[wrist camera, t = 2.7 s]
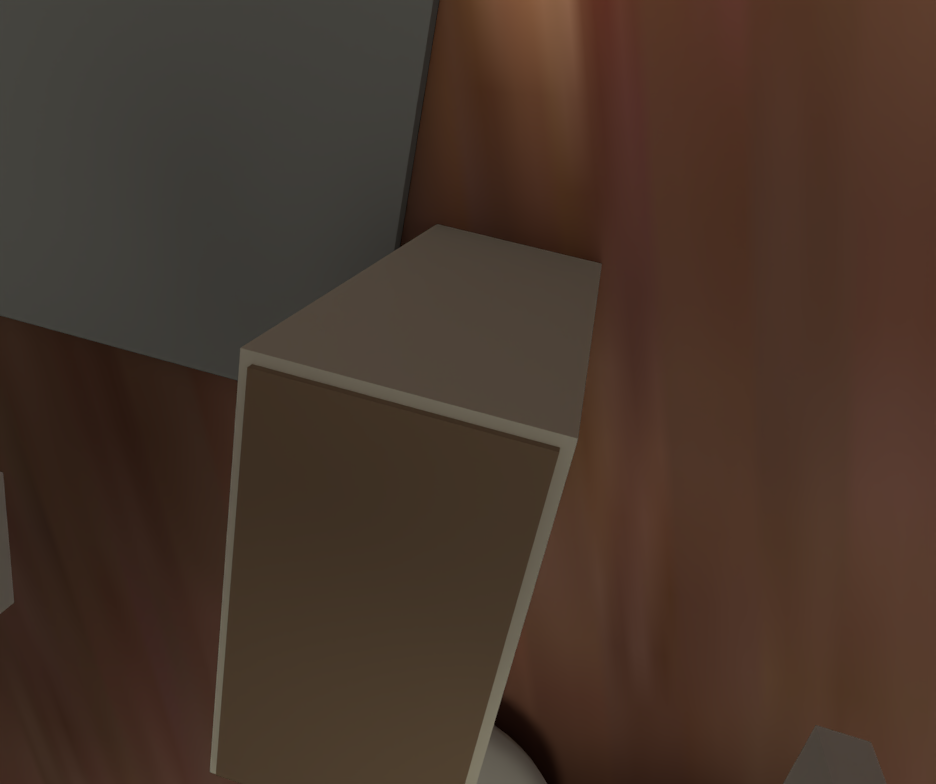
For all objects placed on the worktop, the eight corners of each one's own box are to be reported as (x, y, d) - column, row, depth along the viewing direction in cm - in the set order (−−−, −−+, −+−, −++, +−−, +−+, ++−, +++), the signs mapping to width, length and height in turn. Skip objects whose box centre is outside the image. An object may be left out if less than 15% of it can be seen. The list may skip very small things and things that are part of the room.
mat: (-169, 260, 26) (-187, 264, 26) (-264, -300, 20) (-289, -312, 19) (373, 409, 24) (368, 416, 23) (466, -169, 17) (461, -178, 17)
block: (391, 479, 25) (205, 778, 14) (437, 223, 21) (235, 351, 10) (530, 519, 24) (453, 862, 13) (602, 263, 21) (577, 443, 10)
